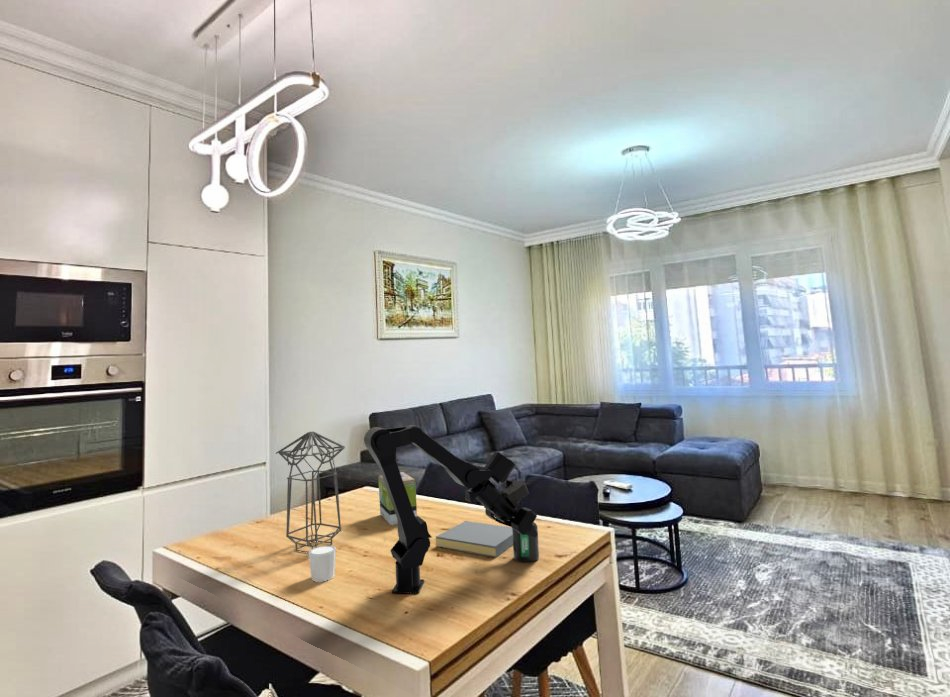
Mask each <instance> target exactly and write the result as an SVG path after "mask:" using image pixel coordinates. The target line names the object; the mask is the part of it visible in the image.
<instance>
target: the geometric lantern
mask: <svg viewBox="0 0 950 697" xmlns="http://www.w3.org/2000/svg"><path fill="white" fill-rule="evenodd" d="M317 441H318V442H317ZM328 442H330V443H332V444H334V445H335V446H334V447H333V446H331V444H329V443H328ZM296 443H297V444H296ZM318 443H320V444H318ZM295 444H296V445H295ZM293 445H295V446H294V448H292V449H291V450H287V449H288V448H290V447H291V446H293ZM306 445H307V446H306ZM314 447H316V448H317V450H318V452H314ZM322 448H323V449H325V450H326V452H325V451H324V450H323V449H322ZM344 449H346V446H345V445H342V444H341V443H338V442H336V441H334V440H332V439H330V438H328V437H327V436H326V437H325V436H323V435H322V434H319V433H317V432H315V431H309V432H306V433H305V434H303V435H302V436H300V437H298V438H296V439H295V440H294V441H292V442H290V443H288V444H287V445H285V446H284V447H282V448H281V449H279V450H278V451H276V452H275V454H276V455H277V454H278V455H280V456H281V457H282V458H283V459H284V461H286V462H287V466H290V470H289V475H288V477H286V480H287V498H286V500H287V501H286V502H287V503H286V534H285V535H286V538H288V540H290V541H291V542H293V544H295V549H294V551H295V550H296V551H295V552H299V551H301V552H300V553H306V552H307V554H308V553H309V551H310V550H308V551H306V550H300V548H299V547H301V546H303V547H305V546H306V547H310V548H311V549H313V548H316V547H318V546H319V545H321V544H324V543H325V544H328V545H326V546H333V539H334V538H335V537H336V536H337V535H338V534H339V533H341V532H342V525H341V512H340V510H341V509H340V499H339V486H338V473H337V470H336V465H335V460H334V458H335V457H337V456H338V455H339V454H340V453H341V452H342V451H344ZM305 450H306V451H305ZM310 450H311V454H309V452H310ZM330 450H332V451H330ZM299 451H300V454H298V453H299ZM304 451H305V453H304V454H303V452H304ZM335 452H336V453H335ZM331 454H332V455H331ZM317 455H319V456H320V458H319V457H318V456H317ZM309 456H310V457H314V458H315V459H316V460H317V461H319V462H320V464H319V465H318V467H317V470H315V469H314V468H313V467H312V465H311V464H310V463H309V462H308V461H307V460H306V457H309ZM323 456H324V457H323ZM326 457H327V458H328V460H326ZM289 458H290V459H292V462H291V461H290V459H289ZM325 460H326V461H325ZM295 461H297V462H295ZM302 461H305V463H307V465H308V467H310V469H312V470H308V471H303V472H302V470H301V469H300V467H299V465H298V464H299V463H301V462H302ZM327 463H329V465H330V468H331V471H328V470H327V471H326V470H320V469H321V467H322V466H323V465H325V464H327ZM294 466H295V467H296V468H297V471H299V473H297V474H293V475H292V472H293V468H294ZM308 473H311V478H310V479H307V478H306V477H305V474H308ZM320 473H326V474H327V473H330V474H328V475H325V476H320ZM300 475H301V477H302V478H301V479H300V478H295V477H296V476H300ZM316 475H317V478H315V476H316ZM293 477H294V478H293ZM328 477H333V484H334V493H335V502H336V512H337V519H338V520H337V521H338V525H334V524H327V523H322V505H321V485H320V484H321V482H320V480H321V479H323V478H324V479H325V478H328ZM293 480H294V481H300V482H301V481H302V482H305V526H302V527H300V528H297V529H295V530H291V531H290V521H291V520H290V519H291V504H292V503H291V499H292V485H293V483H292V482H293ZM315 481H317V489H318V490H317V492H318V493H317V494H318V514H319V522H318V523H317V513H316V512H317V511H316V497H315V484H314V482H315ZM308 482H311V498H310V499H311V502H310V503H311V504H310V505H311V506H310V507H311V509H310V524H308V523H309V522H308V521H309V520H308V518H309V517H308V515H309V511H308V510H309V508H308V507H309V506H308V501H309V500H308V498H309V496H308V495H309V494H308V493H309V492H308V491H309V490H308ZM313 522H314V523H313ZM313 526H314V529H313ZM320 526H326V527H330V528H336V530H335V531H333V532H330V533H327V534H325V535H324V534H318V531H319V528H320ZM309 527H310V531H311V534H310V535H309ZM301 530H305V537H304V538H300V537H296V536H294V535H293V536H292V535H291V534H294V533H297V532H298V531H301ZM313 530H314V531H313ZM313 537H314V538H313ZM309 538H311V539H309ZM324 538H328V539H325V540H321V539H324ZM296 540H297V541H296ZM313 541H316V542H313ZM317 541H318V542H317ZM300 542H306V543H300ZM310 542H312V543H314V545H313V544H311V543H310ZM306 544H307V545H306ZM298 545H299V546H298ZM304 545H305V546H304ZM297 548H299V549H297ZM301 548H302V547H301Z"/></svg>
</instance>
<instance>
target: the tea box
mask: <svg viewBox="0 0 950 697" xmlns="http://www.w3.org/2000/svg"><path fill="white" fill-rule="evenodd" d="M400 474H401V477H402V480H403V483H404V486H405V489H406V491H407V494H408V497H409V500H410V503H411V506H412V509H413V511H414V514H415V516H416V517H417V516H418V507H417V506H418V505H417V488H416V486H417V484H416V478H413V477H412V476H410V475H409V474H407V473H405V472H404V471H400ZM377 478H378V479H377V480H378V493H379V494H378V496H379V500H378V501H379V514H380V516H382V518H384V520H385V521H386V522H387V523H388V524H389V525H390V526H394V525H395V524H396V525H398V520H397V516H396V514H395V511H394V508H393V505H392V502H391V499H390V497H389V494H388V491H387V488H386V485H385V482H384V480H383V477H382V474H380V475H378V476H377Z"/></svg>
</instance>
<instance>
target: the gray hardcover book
mask: <svg viewBox="0 0 950 697" xmlns="http://www.w3.org/2000/svg"><path fill="white" fill-rule="evenodd" d="M435 547H436V548H440V547H443V548H442V549H446V548H447V549H448V550H451V549H453V550H452V551H458V552H463V553H469V554H476V555H480V556H484V557H491V558H497V557H500V555H501V554H503V553H504V552H505V551H507V550H509V549H510V548H511V547H513V533H512V527H510V526H507V525H497V524H490V523H483V522H476V521H468V520H463V522H461V523H459V524H456V525H455V526H453V527H451V528H449V529H447V530H445V531H444V532H442V533H440V534H438V535H436V536H435ZM447 549H446V550H447Z"/></svg>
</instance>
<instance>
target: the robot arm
mask: <svg viewBox="0 0 950 697" xmlns="http://www.w3.org/2000/svg"><path fill="white" fill-rule="evenodd" d="M363 442H364V445H365V447H366V448H367V451H368V452H369V454H370V456H371V457H372V459H373V460H374V462H375V463H376V465H377V466H378V469H379V471H380V473H381V474H380V475H382V477H383V480H384V482H385V485H386V488H387V491H388V494H389V497H390V499H391V502H392V505H393V508H394V511H395V514H396V516H397V520H398V524H397V535H398V540H397V541H396V542H395V544H394V545H393V546H392V548H391V549H390V554H391V556H392V558H393V559H394V560H395V579H396V580H395V581H396V582H395V585H394V587H393V588H392V590H391V593H392V594H419V593H420V592H421V590H422V587H423V585H424V584H425V579H421V570H420V569H421V568H420V566H423V563H424V560H425V556H426V554H427V552H428V551H429V549H430V547H431V540H430V539H431V538H432V537H433V536H432V535H431V534H430V532H429V530H428V525H427V524H428V523H427V521H426V520H424V519H422V518H421V517H420V516H418V515H417V517H416V516H415V514H414V511H413V509H412V506H411V503H410V500H409V497H408V494H407V491H406V489H405V486H404V483H403V480H402V477H401V474H400V472H401V471H400V468H399V466H398V462H397V448H400V447H403V446H406V445H409V444H413V445H414V446H415V447H417V448H418V449H419V450H421V451H422V452H423V453H425V454H426V455H427V456H428V457H429V458H431V459H433V460H434V461H435V462H436V463H437V464H439V465H440V466H442V467H443V468H444V470H445V472H446V473H447V474H448V475H449V477H450V478H451V479H452V480H453V481H454V482H455V483H456V484H459V485H460V486H462V487H464V488H467V489H466V490H465V501H468V502H469V503H471V504H472V503H474V502H475V500H477V501H478V502H479V503H481V505H483V508H484V509H485V515H486V516H487V517H488V518H490V519H491V520H493V521H495V522H497V523H499V524H502V525H503V526H506V527H512V528H513V529H514V530H515V531H516V532H518V533H519V534H522V535H528V536H531V537H535V538H536V537H537V536H538V537H539V533H537V531H536V529H535V528H534V526H533V524H532V523H533V522H535V520H536V519H537V517H538V514H537V513H535V511H534V510H532V509H530V508H527V507H520V509H519V510H518V509H517V508H518V507H519V506H520V503H519V501H521V500H522V499H524V498H525V497H528V496H529V494H530V492H529V489H528V487H527V485H526V483H525V482H523V481H521V480H513V481H512V480H510V479H508V478H509V476H510V475H511V474H512V472H513V471H514V470H515V468H516V466H517V465H516V464H515V462H513V460H512V459H510V458H508V457H507V456H505V455H503V454H501V452H500V451H494V452H493V453H492V456H491V457H490V459H489V460H488V461H487V463H486V464H485V465H484V467H483V466H481V465H475V464H472V463H471V462H469V461H466V460H464V459H463V458H460V457H458V456H457V455H454V454H453V453H452V452H451V451H449V450H448V449H447V448H446V447H444V446H443V444H440V443H439V442H438V441H436V440H435V438H433V437H431V436H430V435H428V434H427V433H426V432H424V431H423V429H422V428H421V427H420V426H418V425H413V424H409V425H405V426H399V427H398V426H397V427H392V428H391V427H390V428H382V427H381V426H380V427H378V426H374V427H371V428H370V429H368V430H367V432H366V433H365V435H364V437H363ZM499 484H502V490H500V489H499V487H497V486H496V485H499Z"/></svg>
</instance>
